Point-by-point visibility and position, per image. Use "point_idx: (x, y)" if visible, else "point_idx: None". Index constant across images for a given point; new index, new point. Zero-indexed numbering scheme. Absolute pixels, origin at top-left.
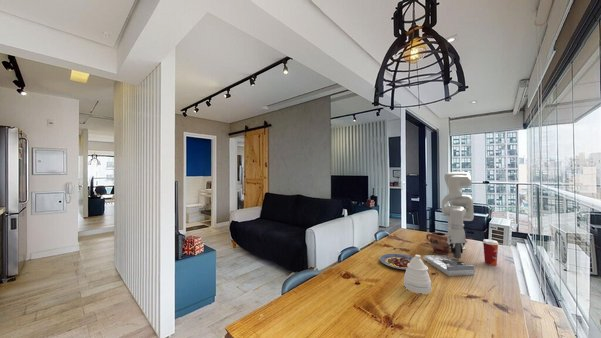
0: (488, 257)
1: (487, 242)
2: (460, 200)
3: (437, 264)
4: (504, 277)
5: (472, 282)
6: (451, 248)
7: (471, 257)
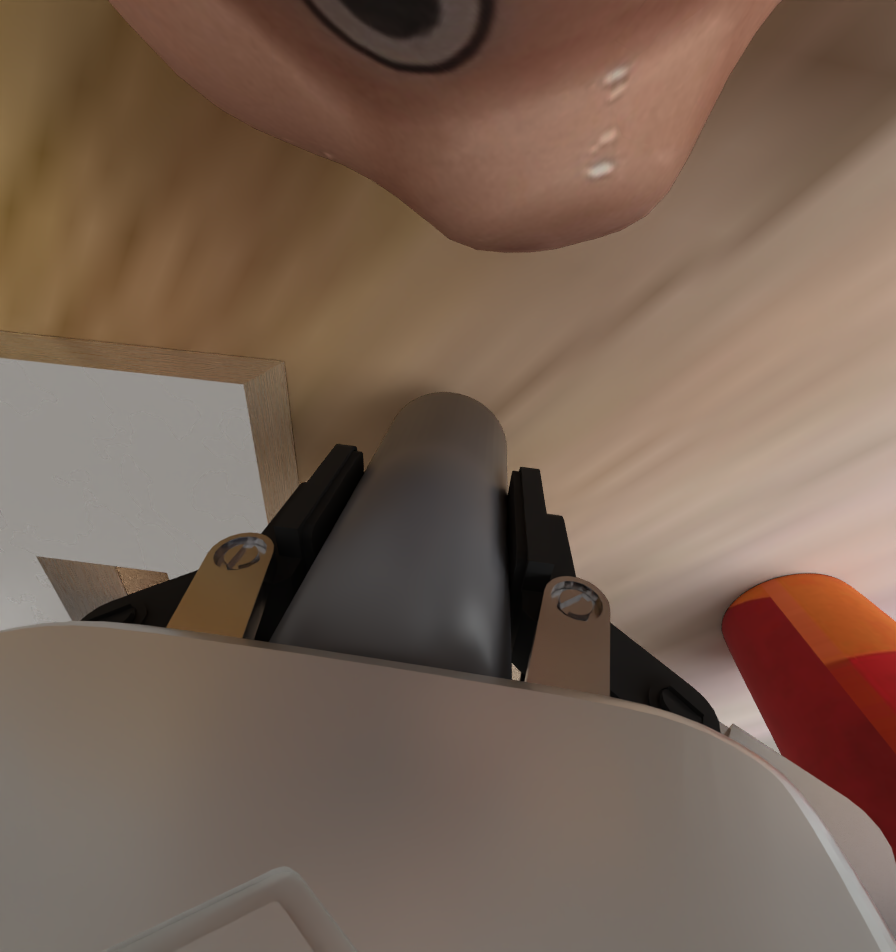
0: (768, 722)
1: None
2: None
3: None
4: None
5: None
6: (274, 532)
7: (817, 399)
